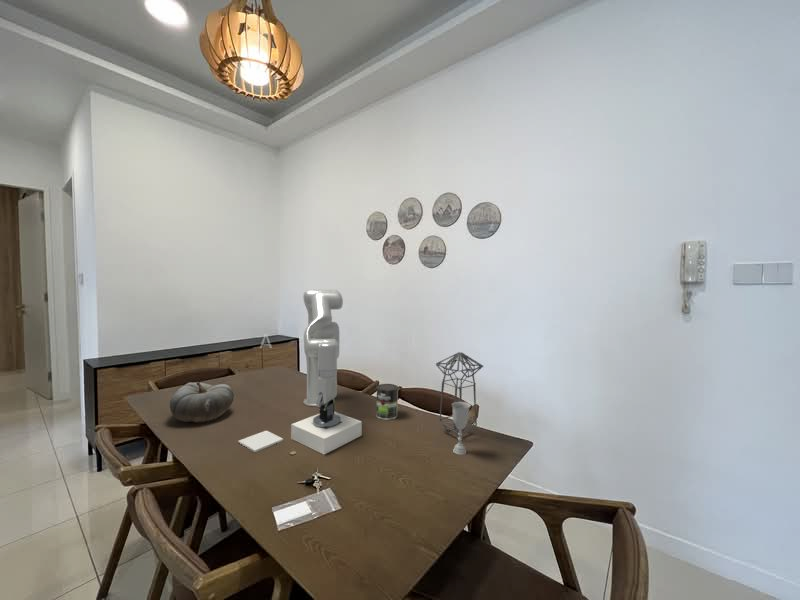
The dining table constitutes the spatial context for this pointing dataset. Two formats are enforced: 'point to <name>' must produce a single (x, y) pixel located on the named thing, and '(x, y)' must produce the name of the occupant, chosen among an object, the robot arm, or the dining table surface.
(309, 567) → the dining table surface
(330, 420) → the grey round knobbed piece
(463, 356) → the geometric lantern
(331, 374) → the robot arm
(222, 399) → the gourd
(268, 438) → the mat
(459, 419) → the chalice
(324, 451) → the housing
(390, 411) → the coffee can
